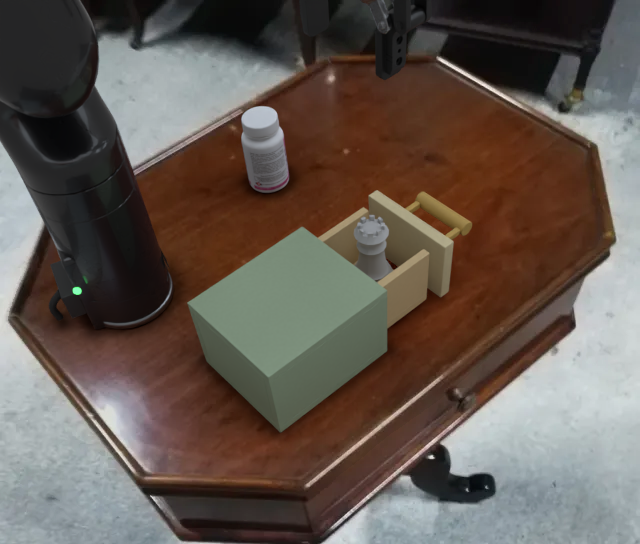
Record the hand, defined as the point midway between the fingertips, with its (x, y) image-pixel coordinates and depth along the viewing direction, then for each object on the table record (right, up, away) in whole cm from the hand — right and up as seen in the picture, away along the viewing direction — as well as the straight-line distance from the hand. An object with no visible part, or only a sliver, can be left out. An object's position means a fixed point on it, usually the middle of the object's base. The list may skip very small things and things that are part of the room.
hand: (351, 52), depth 59 cm
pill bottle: (-8, -1, +29) cm, 30 cm away
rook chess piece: (+3, -15, +16) cm, 23 cm away
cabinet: (-5, -23, +15) cm, 27 cm away
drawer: (+4, -15, +18) cm, 23 cm away
